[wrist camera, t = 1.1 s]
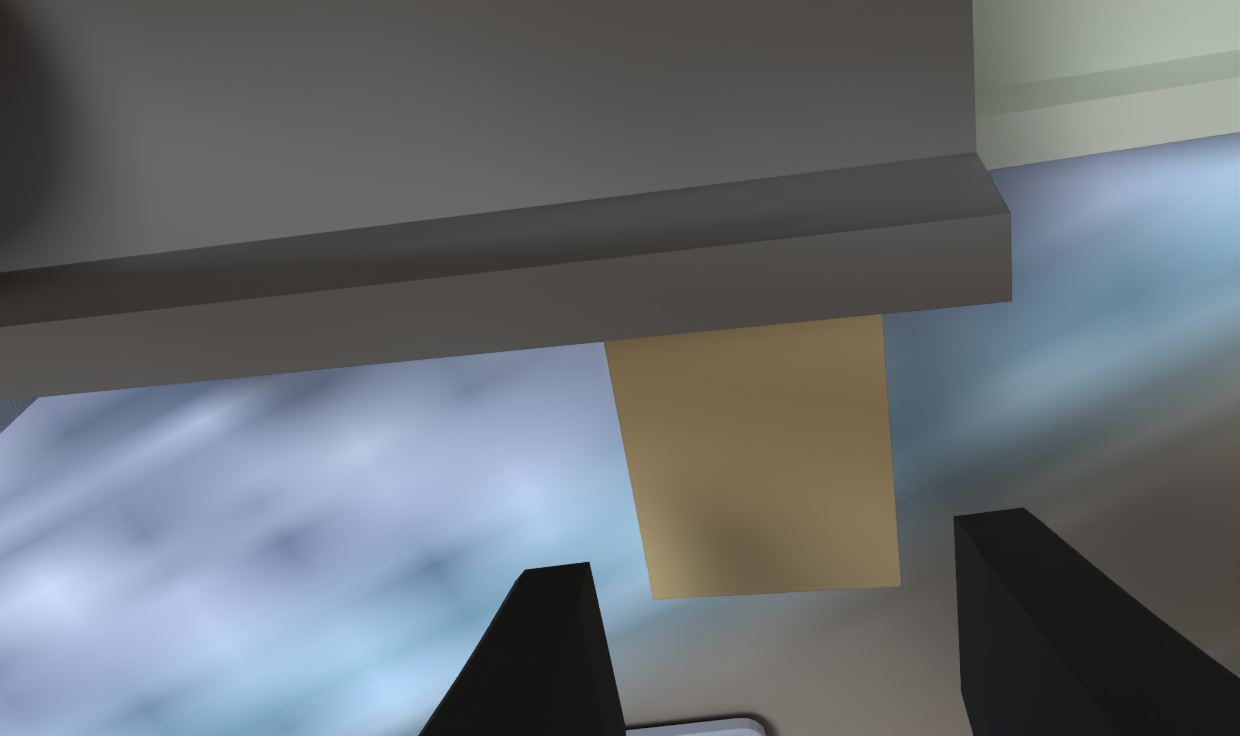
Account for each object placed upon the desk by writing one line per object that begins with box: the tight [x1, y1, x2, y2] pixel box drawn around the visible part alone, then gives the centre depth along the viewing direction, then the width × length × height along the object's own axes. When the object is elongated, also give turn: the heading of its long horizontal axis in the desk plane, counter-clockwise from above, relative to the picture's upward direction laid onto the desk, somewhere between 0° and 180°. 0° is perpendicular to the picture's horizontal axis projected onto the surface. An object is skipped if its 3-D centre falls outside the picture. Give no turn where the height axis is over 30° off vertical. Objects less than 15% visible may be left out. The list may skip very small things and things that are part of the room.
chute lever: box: [0, 0, 1012, 600], centre depth 11 cm, size 12×14×3 cm
